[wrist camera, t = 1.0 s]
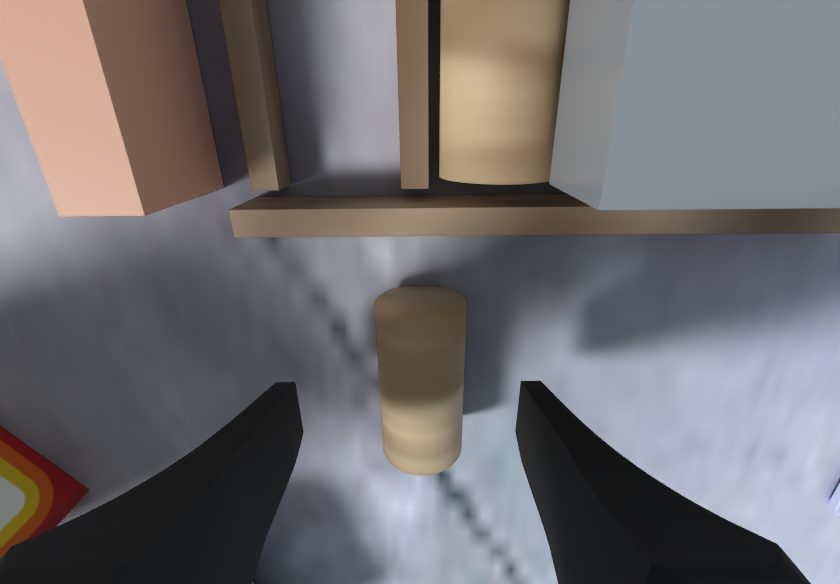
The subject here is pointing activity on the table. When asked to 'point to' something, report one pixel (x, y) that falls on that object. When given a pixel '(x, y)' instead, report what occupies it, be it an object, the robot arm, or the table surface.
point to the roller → (421, 376)
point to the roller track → (456, 136)
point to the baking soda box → (31, 492)
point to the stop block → (111, 102)
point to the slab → (700, 105)
